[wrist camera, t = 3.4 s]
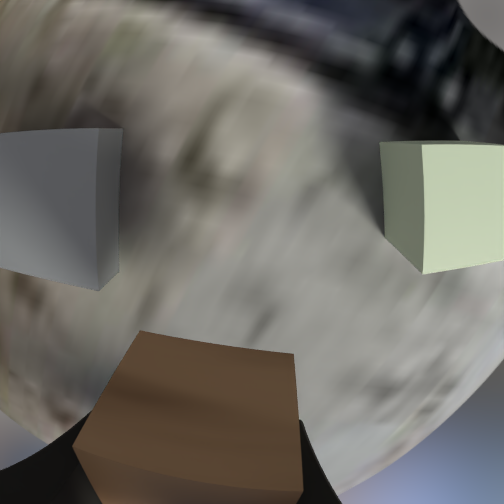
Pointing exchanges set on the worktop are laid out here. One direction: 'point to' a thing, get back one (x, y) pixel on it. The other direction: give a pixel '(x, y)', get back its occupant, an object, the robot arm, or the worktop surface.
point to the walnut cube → (195, 426)
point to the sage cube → (444, 202)
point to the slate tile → (61, 204)
